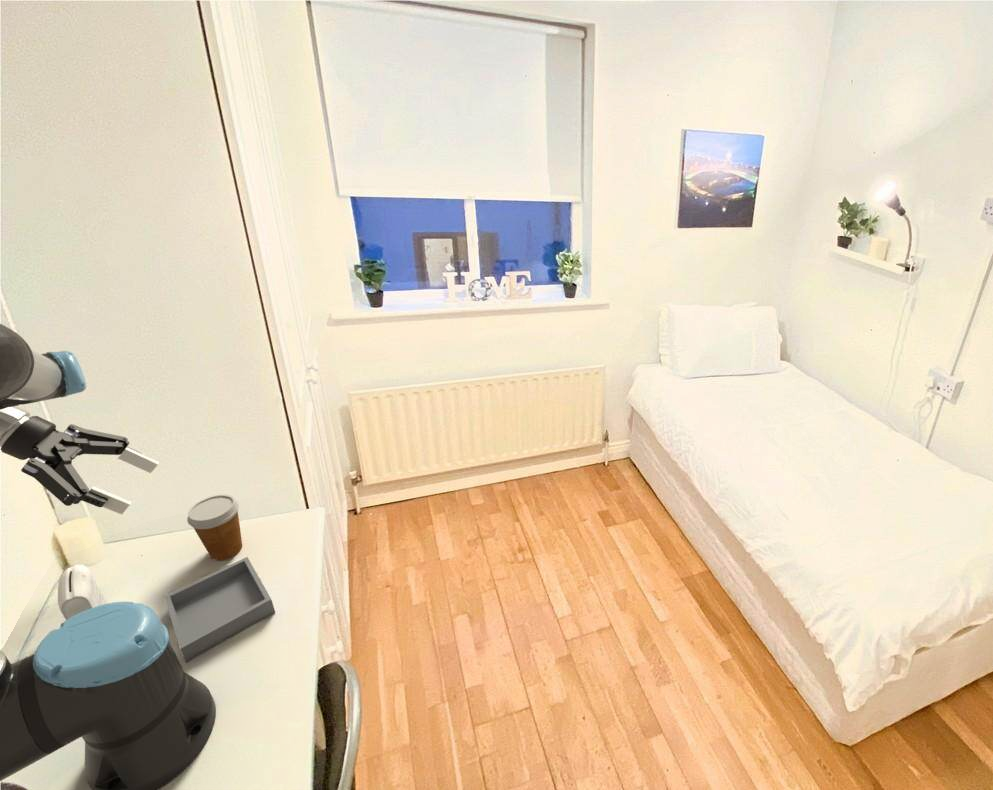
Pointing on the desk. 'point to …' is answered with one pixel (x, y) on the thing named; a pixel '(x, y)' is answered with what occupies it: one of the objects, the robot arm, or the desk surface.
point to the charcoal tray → (217, 607)
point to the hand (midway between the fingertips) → (142, 486)
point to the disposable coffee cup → (217, 525)
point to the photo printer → (78, 591)
